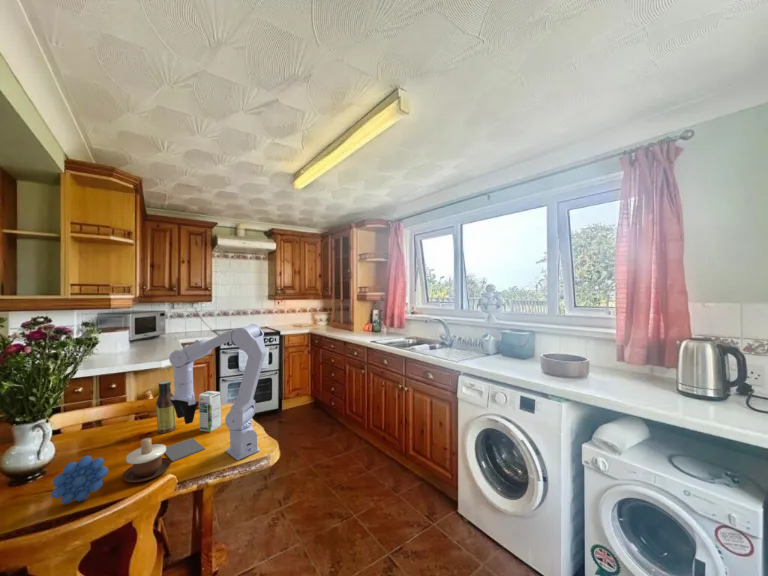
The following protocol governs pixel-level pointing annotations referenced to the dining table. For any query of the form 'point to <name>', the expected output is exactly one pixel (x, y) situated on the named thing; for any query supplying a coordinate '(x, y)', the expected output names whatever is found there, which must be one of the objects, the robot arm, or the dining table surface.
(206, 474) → the dining table surface
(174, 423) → the sauce bottle
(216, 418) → the syrup box
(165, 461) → the cup and saucer
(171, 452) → the plate
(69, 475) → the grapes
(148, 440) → the lid
